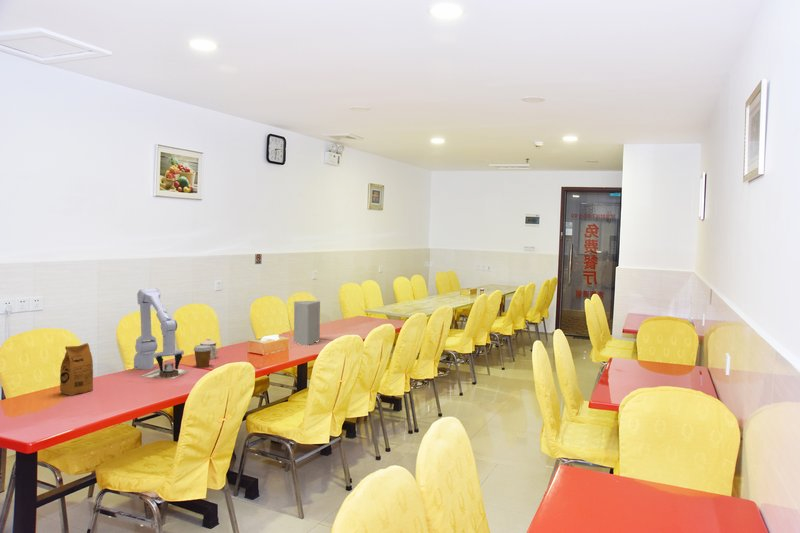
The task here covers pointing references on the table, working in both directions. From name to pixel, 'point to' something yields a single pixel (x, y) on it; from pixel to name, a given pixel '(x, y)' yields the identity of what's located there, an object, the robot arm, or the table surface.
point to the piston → (168, 368)
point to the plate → (156, 372)
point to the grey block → (306, 322)
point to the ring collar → (168, 374)
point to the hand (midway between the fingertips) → (169, 369)
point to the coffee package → (76, 370)
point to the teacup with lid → (213, 346)
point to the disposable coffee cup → (202, 355)
